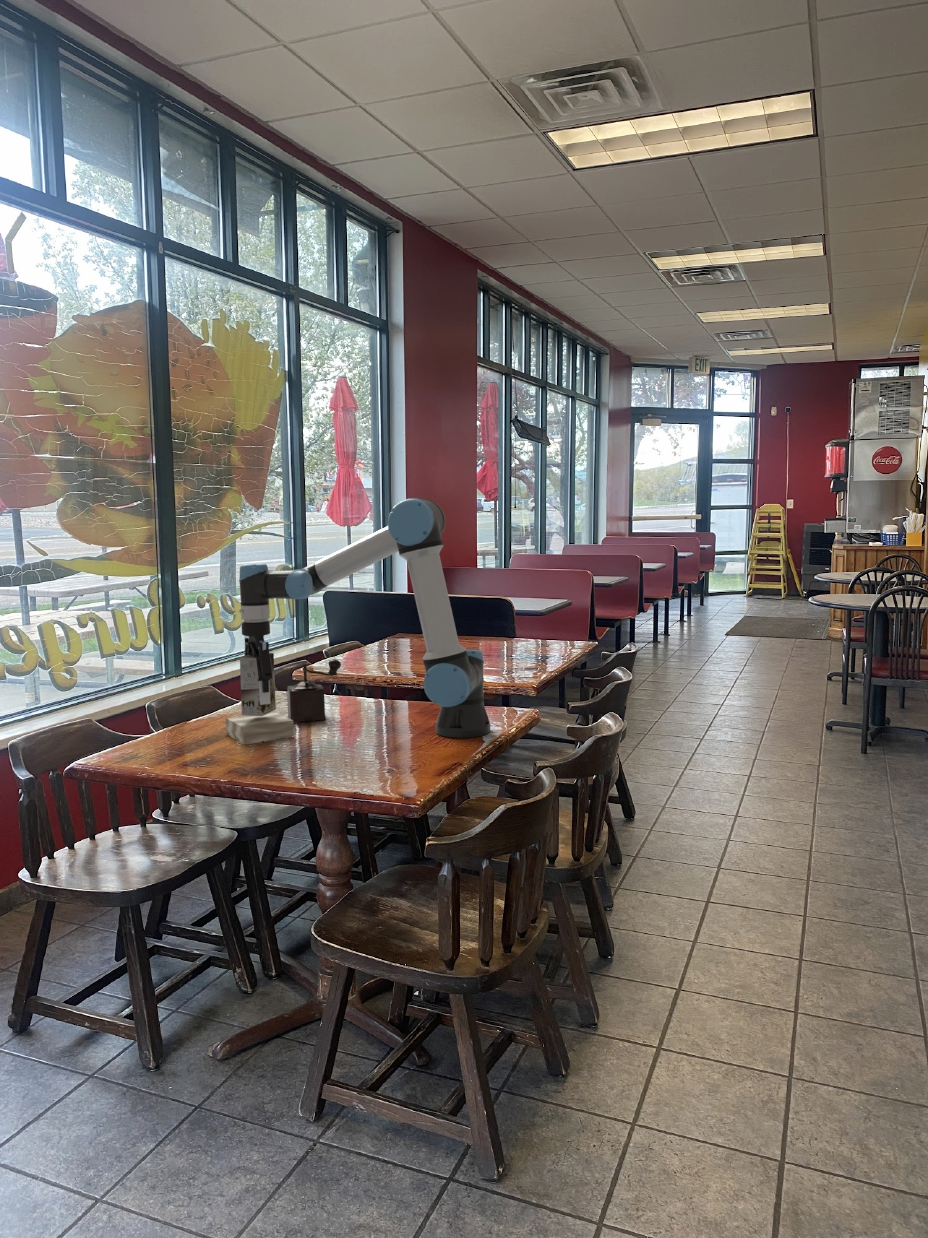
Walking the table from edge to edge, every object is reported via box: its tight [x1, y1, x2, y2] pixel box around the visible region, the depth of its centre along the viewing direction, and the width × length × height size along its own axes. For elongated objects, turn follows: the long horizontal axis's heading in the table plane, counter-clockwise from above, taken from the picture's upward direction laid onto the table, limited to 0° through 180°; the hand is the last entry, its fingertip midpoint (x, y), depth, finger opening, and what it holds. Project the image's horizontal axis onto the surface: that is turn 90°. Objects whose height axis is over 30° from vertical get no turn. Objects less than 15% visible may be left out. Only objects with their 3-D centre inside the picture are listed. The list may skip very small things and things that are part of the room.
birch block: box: [225, 711, 295, 745], centre depth 249 cm, size 14×14×5 cm
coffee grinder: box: [287, 658, 342, 723], centre depth 270 cm, size 16×11×18 cm
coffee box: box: [239, 652, 277, 716], centre depth 248 cm, size 9×6×16 cm
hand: (258, 700), depth 248 cm, fingers closed on coffee box, 10 cm apart
